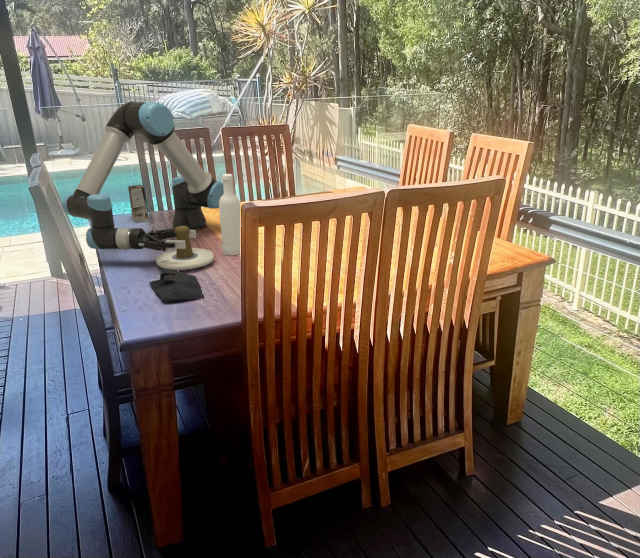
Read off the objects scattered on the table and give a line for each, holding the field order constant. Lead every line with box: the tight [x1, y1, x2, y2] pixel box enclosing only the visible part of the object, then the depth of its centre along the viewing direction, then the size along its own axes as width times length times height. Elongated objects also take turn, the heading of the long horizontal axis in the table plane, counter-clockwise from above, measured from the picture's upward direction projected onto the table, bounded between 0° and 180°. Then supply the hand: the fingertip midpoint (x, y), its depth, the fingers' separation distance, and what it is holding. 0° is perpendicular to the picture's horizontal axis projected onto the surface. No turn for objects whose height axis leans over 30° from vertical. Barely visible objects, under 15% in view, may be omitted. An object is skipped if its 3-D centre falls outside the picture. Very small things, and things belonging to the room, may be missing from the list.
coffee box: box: [127, 184, 149, 223], centre depth 248 cm, size 9×6×16 cm
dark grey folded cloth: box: [149, 268, 205, 303], centre depth 166 cm, size 15×22×5 cm
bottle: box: [218, 173, 241, 256], centre depth 197 cm, size 8×8×30 cm
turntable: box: [155, 247, 215, 270], centre depth 189 cm, size 20×20×2 cm
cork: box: [175, 226, 194, 259], centre depth 187 cm, size 6×6×11 cm
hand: (190, 239), depth 186 cm, fingers open, 13 cm apart
